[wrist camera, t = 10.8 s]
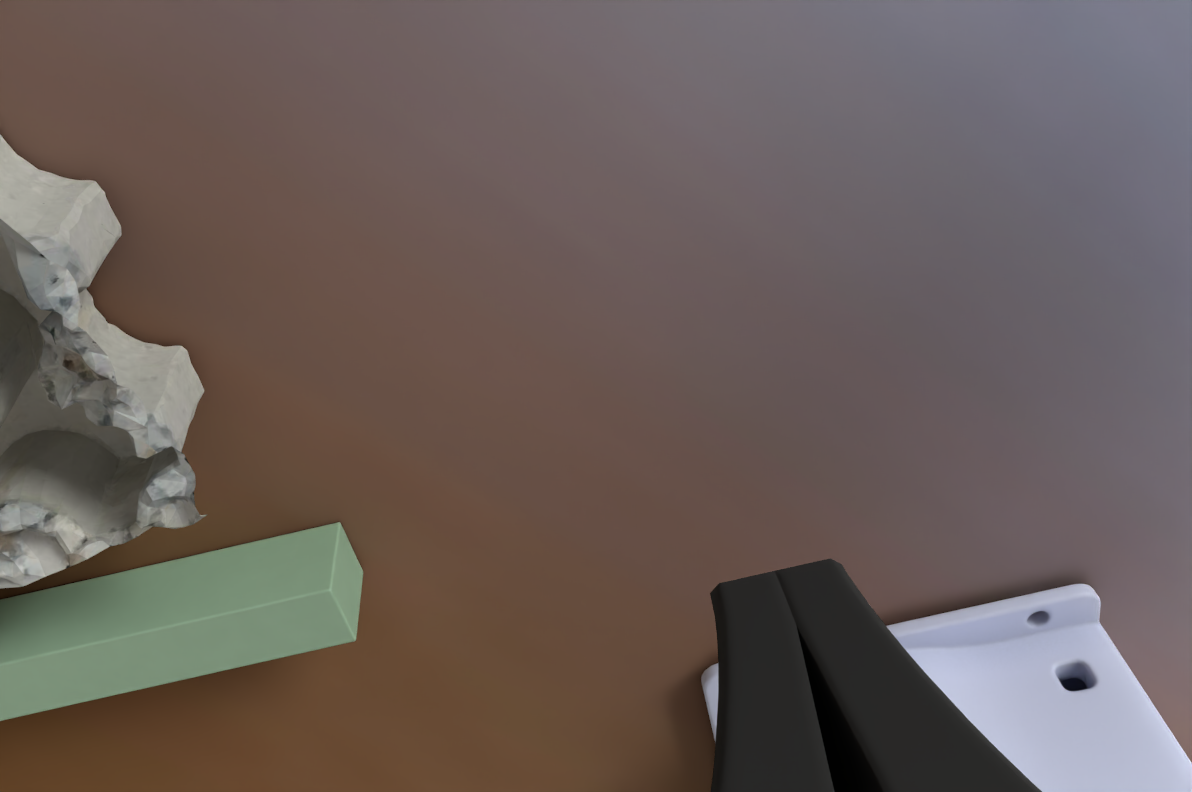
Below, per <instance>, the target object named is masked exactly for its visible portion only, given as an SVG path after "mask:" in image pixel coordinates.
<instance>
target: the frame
mask: <svg viewBox="0 0 1192 792" xmlns="http://www.w3.org/2000/svg"><path fill="white" fill-rule="evenodd" d="M362 579H363V570H362V568H361V566H360V564H359V562H358V559H357V557H356V555H355V553H354V551H353V549H352V547H351V544H350V542H349V540H348V538H347V536H346V534H345V531H344V529H343V527H342V525H341V523H340V522H338V523H333V524H329V525H325V526H320V527H316V528H312V529H307V530H303V531H298V532H294V533H290V534H285V535H281V536H277V537H272V538H268V539H264V540H259V541H255V542H250V543H246V544H242V545H237V546H233V547H229V548H224V549H220V550H215V551H211V552H207V553H202V554H198V555H194V556H189V557H185V558H181V559H176V560H172V561H167V562H163V563H159V564H154V565H150V566H146V567H141V568H137V569H132V570H128V571H124V572H119V573H115V574H111V575H106V576H102V577H97V578H93V579H89V580H84V581H80V582H76V583H71V584H67V585H63V586H58V587H54V588H49V589H45V590H41V591H36V592H32V593H28V594H23V595H19V596H14V597H10V598H6V599H1V600H0V721H2V720H6V719H11V718H15V717H20V716H24V715H29V714H33V713H38V712H42V711H47V710H51V709H55V708H60V707H64V706H69V705H73V704H78V703H82V702H87V701H91V700H95V699H100V698H104V697H109V696H113V695H118V694H122V693H127V692H131V691H136V690H140V689H144V688H149V687H153V686H158V685H162V684H167V683H171V682H176V681H180V680H184V679H189V678H193V677H198V676H202V675H207V674H211V673H216V672H220V671H224V670H229V669H233V668H238V667H242V666H247V665H251V664H256V663H260V662H265V661H269V660H273V659H278V658H282V657H287V656H291V655H296V654H300V653H305V652H309V651H313V650H318V649H322V648H327V647H331V646H336V645H340V644H345V643H349V642H354V641H356V635H357V626H358V617H359V607H360V598H361V589H362Z"/></svg>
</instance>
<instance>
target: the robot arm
mask: <svg viewBox="0 0 1192 792" xmlns="http://www.w3.org/2000/svg"><path fill="white" fill-rule="evenodd" d="M710 595H711V600H712V604H713V609H714V614H715V621H716V630H717V641H718V663H717V664H714V665H711V666H710V667H709V668H707V669H706V670H705V671H704V673H703V674H702V677H701V683H702V687H703V691H704V696H705V700H706V704H707V709H708V713H709V717H710V722H711V726H712V730H713V735H714V739H715V758H714V769H713V777H712V785H711V792H1192V763H1191V761H1190V760H1189V758H1188V757H1187V755H1186V754H1185V752H1184V751H1183V749H1182V748H1181V746H1180V745H1179V743H1178V741H1177V740H1176V738H1175V737H1174V735H1173V734H1172V732H1171V731H1170V729H1169V728H1168V726H1167V725H1166V723H1165V722H1164V720H1163V719H1162V717H1161V716H1160V714H1159V712H1158V711H1157V709H1156V708H1155V706H1154V705H1153V703H1152V702H1151V700H1150V699H1149V697H1148V696H1147V694H1146V693H1145V691H1144V690H1143V688H1142V687H1141V685H1140V683H1139V682H1138V680H1137V679H1136V677H1135V676H1134V674H1133V673H1132V671H1131V670H1130V668H1129V667H1128V665H1127V664H1126V662H1125V661H1124V659H1123V657H1122V656H1121V654H1120V653H1119V651H1118V650H1117V648H1116V647H1115V645H1114V644H1113V642H1112V641H1111V639H1110V638H1109V636H1108V635H1107V633H1106V632H1105V630H1104V628H1103V627H1102V625H1101V624H1100V623H1099V616H1100V605H1101V603H1100V598H1099V597H1098V595H1097V594H1096V592H1095V591H1094V589H1093V588H1092V587H1091V586H1089V585H1086V584H1072V585H1068V586H1063V587H1059V588H1054V589H1050V590H1045V591H1041V592H1036V593H1032V594H1027V595H1023V596H1018V597H1014V598H1009V599H1005V600H1000V601H996V602H991V603H986V604H982V605H977V606H973V607H968V608H964V609H959V610H955V611H950V612H946V613H941V614H937V615H932V616H928V617H923V618H919V619H914V620H910V621H905V622H901V623H896V624H892V625H887V626H886V625H885V624H884V623H883V622H882V620H881V619H880V618H879V617H878V615H877V614H876V613H875V611H874V610H873V609H872V608H871V606H870V605H869V604H868V602H867V601H866V600H865V598H864V597H863V596H862V594H861V593H860V591H859V590H858V588H857V587H856V586H855V584H854V583H853V581H852V580H851V578H850V577H849V575H848V574H847V572H846V571H845V569H844V568H843V566H842V565H841V564H840V563H838V562H836V561H834V560H832V559H831V558H830V559H826V560H822V561H817V562H813V563H808V564H804V565H799V566H795V567H790V568H786V569H781V570H777V571H772V572H768V573H763V574H759V575H755V576H750V577H746V578H741V579H737V580H732V581H728V582H723V583H719V584H718V585H717V586H716V587H715V588H714V590H713V591H712V592H711V593H710Z"/></svg>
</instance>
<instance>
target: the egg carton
mask: <svg viewBox="0 0 1192 792" xmlns="http://www.w3.org/2000/svg"><path fill="white" fill-rule="evenodd" d="M121 235H122V234H121V225H120V224H119V222H118V220H117V218H116V216H115V214H114V212H113V210H112V209H111V207H110V205H109V203H108V200H107V198H106V196H105V192H104V191H103V190H102V189H101V188H100V186H99V185H98V184H97V182H96V181H92V180H74V179H68V178H64V177H60V176H58V175H55V174H53V173H50V172H46V171H42V170H38V169H37V168H36V167H34V166H33V165H32V164H30V163H29V162H27V161H26V160H25V159H23V158H22V157H20V156H19V155H17V154H16V153H15V152H14V151H13V149H12V148H11V147H10V146H9V145H8V144H7V142H6V141H5V140H4V139H3V137H2V136H1V135H0V588H12V587H23V586H26V585H28V584H30V583H32V582H35V581H37V580H39V579H41V578H44V577H46V576H48V575H51V574H53V573H56V572H58V571H61V570H63V569H66V568H68V567H71V566H73V565H75V564H78V563H80V562H82V561H84V560H87V559H89V558H90V557H92V556H94V555H96V554H97V553H99V552H101V551H103V550H104V549H106V548H108V547H110V546H114V545H119V544H123V543H126V542H128V541H130V540H132V539H134V538H136V537H138V536H139V535H141V534H142V533H144V532H145V531H147V530H148V529H150V528H151V527H167V528H172V529H176V528H181V527H185V526H189V525H192V524H195V523H196V522H198V521H199V520H200V519H202V518H203V517H205V516H207V515H199V513H198V511H197V509H196V508H195V501H194V489H195V485H196V482H195V473H194V472H193V470H192V468H191V466H190V465H189V463H188V461H187V459H186V457H185V456H184V454H183V453H181V451H182V448H183V445H184V441H185V438H186V435H187V430H188V427H189V424H190V423H191V421H192V419H193V417H194V414H195V411H196V407H197V404H198V402H199V400H200V398H201V396H202V395H203V393H204V389H203V386H202V384H201V382H200V379H199V377H198V375H197V373H196V372H195V370H194V368H193V366H192V364H191V362H190V358H189V355H188V352H187V350H186V349H185V348H184V347H182V346H179V345H176V346H168V347H163V346H160V345H157V344H151V343H144V342H142V341H140V340H137V339H135V338H133V337H131V336H129V335H127V334H125V333H124V332H123V331H122V330H120V329H119V328H118V327H116V326H115V325H112V324H109V323H107V321H106V320H105V318H104V317H103V316H102V314H101V313H100V312H99V311H98V310H97V309H96V308H95V307H94V303H93V298H92V296H91V295H90V293H89V292H88V291H87V289H86V288H87V287H89V286H90V284H91V282H92V280H93V278H94V277H95V275H96V273H97V271H98V269H99V268H100V266H101V265H102V263H103V261H104V260H105V258H106V256H107V255H108V253H109V251H110V250H111V249H112V247H113V246H114V244H115V243H116V242H117V240H118V239H119V238H120V236H121Z"/></svg>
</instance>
